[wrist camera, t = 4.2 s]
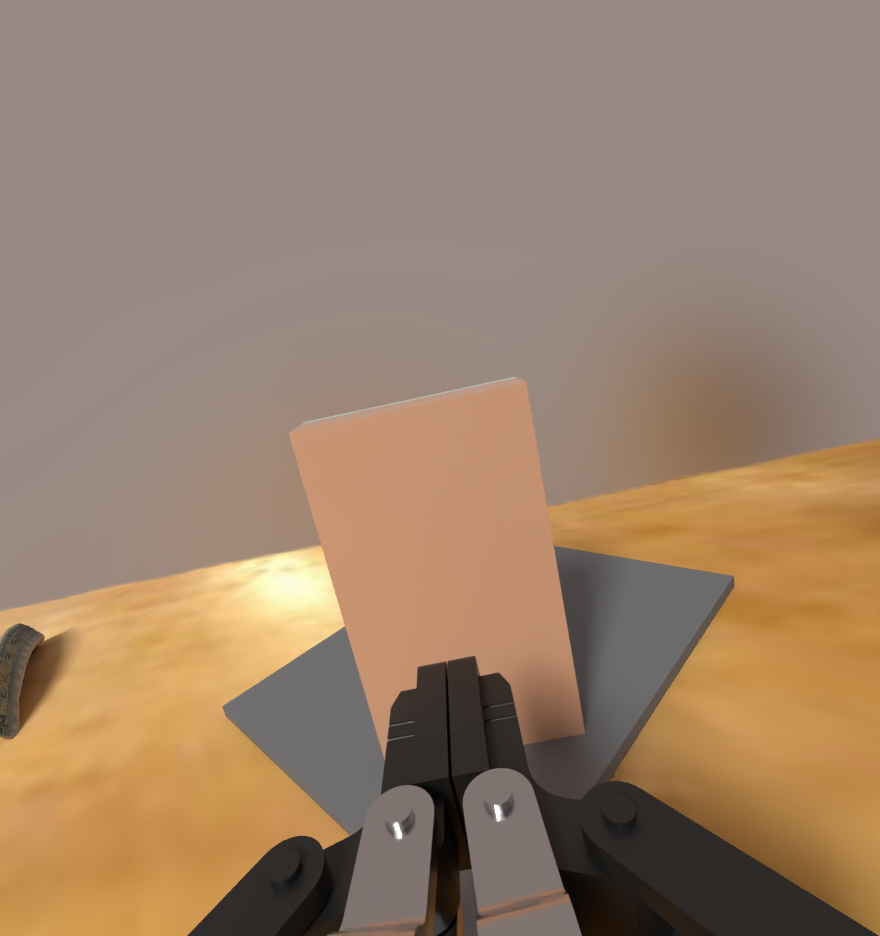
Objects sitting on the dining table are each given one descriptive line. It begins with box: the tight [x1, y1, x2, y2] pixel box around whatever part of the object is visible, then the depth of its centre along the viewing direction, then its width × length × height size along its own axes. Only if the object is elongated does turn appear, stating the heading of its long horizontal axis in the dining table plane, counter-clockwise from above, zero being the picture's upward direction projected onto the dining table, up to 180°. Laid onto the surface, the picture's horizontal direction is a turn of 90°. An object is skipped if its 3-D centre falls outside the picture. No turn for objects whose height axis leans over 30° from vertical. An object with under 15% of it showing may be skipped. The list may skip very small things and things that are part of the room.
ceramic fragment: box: [0, 624, 45, 739], centre depth 33 cm, size 14×5×4 cm, turn 31°
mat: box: [222, 546, 734, 936], centre depth 27 cm, size 22×18×1 cm
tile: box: [289, 377, 585, 760], centre depth 20 cm, size 2×8×14 cm, turn 91°
